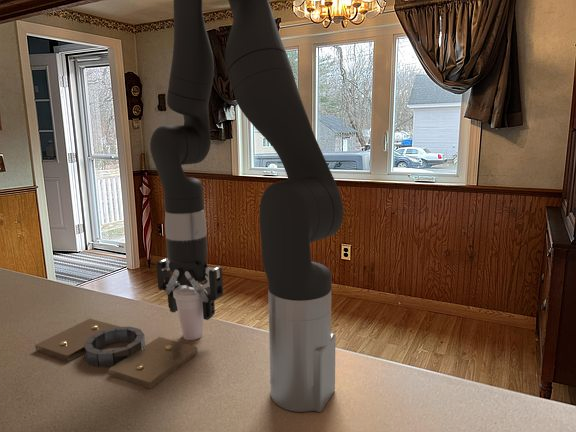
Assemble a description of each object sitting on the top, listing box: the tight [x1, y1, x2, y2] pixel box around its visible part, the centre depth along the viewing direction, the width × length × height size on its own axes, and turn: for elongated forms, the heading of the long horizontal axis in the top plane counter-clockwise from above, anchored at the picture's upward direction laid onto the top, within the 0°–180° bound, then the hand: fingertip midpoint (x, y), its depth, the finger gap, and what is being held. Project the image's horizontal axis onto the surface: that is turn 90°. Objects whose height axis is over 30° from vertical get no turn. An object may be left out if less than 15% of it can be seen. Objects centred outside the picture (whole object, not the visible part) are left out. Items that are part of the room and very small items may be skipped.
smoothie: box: [173, 284, 208, 341], centre depth 83 cm, size 6×6×14 cm
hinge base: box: [34, 318, 198, 390], centre depth 78 cm, size 28×12×2 cm, turn 64°
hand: (191, 314), depth 83 cm, fingers open, 7 cm apart
